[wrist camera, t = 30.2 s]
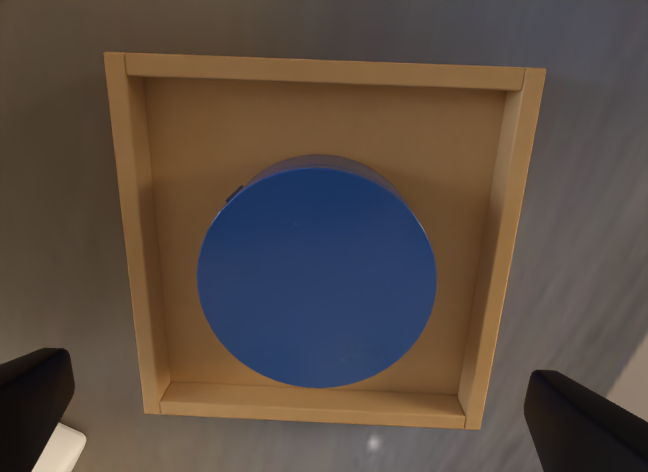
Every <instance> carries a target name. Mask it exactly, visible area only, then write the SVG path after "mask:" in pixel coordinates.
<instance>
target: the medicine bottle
mask: <svg viewBox="0 0 648 472" xmlns="http://www.w3.org/2000/svg"><path fill="white" fill-rule="evenodd" d="M85 444H86V437H85V435H84V434H83V433H81V432H79V431H77V430H74V429H72V428H70V427H68V426H66V425H63V424H61V423H58V425H57V426H56V428H55V430H54V432H53V434H52V436H51V437H50V439H49V441H48V443H47V445H46V447H45V449H44V450H43V452H42V454H41V456H40V458H39V460H38V461H37V463H36V465H35V466H34V468H33V470H32V472H71V471H72V469H73V467H74V465H75V463H76V462H77V460H78V458H79V456H80V454H81V452H82V450H83V448H84V446H85Z"/></svg>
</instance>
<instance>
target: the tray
mask: <svg viewBox="0 0 648 472" xmlns="http://www.w3.org/2000/svg"><path fill="white" fill-rule="evenodd" d="M103 56H104V64H105V73H106V82H107V90H108V99H109V108H110V117H111V125H112V134H113V143H114V151H115V160H116V169H117V177H118V186H119V195H120V203H121V212H122V221H123V230H124V238H125V247H126V256H127V264H128V273H129V282H130V290H131V299H132V308H133V317H134V325H135V334H136V343H137V351H138V360H139V369H140V377H141V386H142V395H143V404H144V412H145V414H157V415H159V414H162V415H179V416H199V417H220V418H240V419H261V420H281V421H302V422H322V423H343V424H364V425H384V426H405V427H425V428H446V429H463V428H464V429H466V430H480V427H481V422H482V417H483V411H484V406H485V400H486V395H487V390H488V384H489V379H490V373H491V368H492V363H493V357H494V352H495V347H496V341H497V336H498V330H499V325H500V320H501V314H502V309H503V303H504V298H505V293H506V287H507V282H508V276H509V271H510V266H511V260H512V255H513V250H514V244H515V239H516V233H517V228H518V223H519V217H520V212H521V206H522V201H523V196H524V190H525V185H526V179H527V174H528V169H529V163H530V158H531V153H532V147H533V142H534V136H535V131H536V126H537V120H538V115H539V109H540V104H541V99H542V93H543V88H544V82H545V77H546V72H547V70H546V69H545V68H529V67H527V68H523V67H503V66H476V65H449V64H422V63H396V62H369V61H342V60H315V59H288V58H261V57H234V56H207V55H181V54H154V53H123V52H104V54H103ZM312 154H325V155H335V156H340V157H345V158H348V159H351V160H355V161H358V162H360V163H362V164H364V165H366V166H368V167H370V168H372V169H373V170H375V171H377V172H378V173H380V174H381V175H383V176H384V177H385V178H386V179H387V180H388V181H389V182H391V183H392V184H393V185H394V186H395V188H396V189H397V190H398V191H399V192H400V193H401V195H402V196H403V198H404V199H405V201H406V202H407V204H408V205H409V207H410V208H411V210H412V211H413V213H414V214H415V216H416V217H417V219H418V220H419V222H420V224H421V225H422V227H423V228H424V230H425V232H426V234H427V237H428V239H429V241H430V243H431V247H432V250H433V253H434V256H435V262H436V269H437V289H436V297H435V302H434V306H433V309H432V313H431V315H430V318H429V320H428V322H427V324H426V327H425V328H424V330H423V332H422V333H421V335H420V337H419V338H418V340H417V341H416V342H415V343H414V345H413V346H412V347H411V348H410V349H409V351H408V352H406V353H405V354H404V355H403V356H402V357H401V358H400V359H399V360H398V361H397V362H395V363H394V364H392V365H391V366H390V367H388V368H387V369H385V370H383V371H382V372H380V373H378V374H376V375H375V376H372V377H370V378H367V379H365V380H363V381H360V382H356V383H353V384H349V385H344V386H338V387H330V388H307V387H299V386H293V385H289V384H285V383H282V382H278V381H275V380H273V379H270V378H268V377H265V376H263V375H261V374H259V373H257V372H256V371H254V370H252V369H250V368H249V367H247V366H246V365H244V364H243V363H242V362H240V361H239V360H238V359H237V358H236V357H234V356H233V355H232V354H231V353H230V352H229V351H228V350H227V349H226V348H225V347H224V346H223V344H222V343H221V342H220V341H219V340H218V338H217V337H216V335H215V334H214V332H213V331H212V329H211V327H210V325H209V323H208V321H207V319H206V317H205V315H204V312H203V309H202V306H201V303H200V299H199V294H198V289H197V264H198V257H199V253H200V248H201V245H202V242H203V240H204V237H205V235H206V232H207V230H208V228H209V227H210V225H211V223H212V221H213V220H214V218H215V217H216V215H217V214H218V213H219V212H220V210H221V209H222V208H223V207H224V205H225V204H226V203H227V202H226V201H225V200H226V199H227V198H228V197H229V196H230V195H231V194H232V193H233V192H235V191H236V190H237V189H238V188H239V187H240V186H241V185H243V186H244V185H246V184H247V183H248V182H249V181H250V180H251V179H252V178H253V177H254V176H256V175H257V174H258V173H260V172H261V171H263V170H264V169H266V168H268V167H270V166H271V165H273V164H275V163H278V162H280V161H283V160H286V159H289V158H293V157H297V156H302V155H312Z"/></svg>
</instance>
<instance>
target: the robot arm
mask: <svg viewBox="0 0 648 472" xmlns="http://www.w3.org/2000/svg"><path fill="white" fill-rule="evenodd" d="M74 389H75V382H74V376H73V370H72V365H71V359H70V354H69V352H68V351H67V350H66V349H63V348H42V349H39V350H37V351H34V352H32V353H29V354H27V355H24V356H22V357H19V358H16V359H14V360H11V361H9V362H6V363H4V364H1V365H0V472H32V470H33V468H34V466H35V465H36V463H37V461H38V460H39V458H40V456H41V454H42V452H43V450H44V449H45V447H46V445H47V443H48V441H49V439H50V437H51V436H52V434H53V432H54V430H55V428H56V426H57V425H58V423H59V421H60V419H61V417H62V415H63V413H64V412H65V410H66V408H67V406H68V404H69V402H70V401H71V399H72V396H73V394H74ZM524 415H525V419H526V422H527V425H528V428H529V431H530V433H531V436H532V439H533V442H534V445H535V448H536V451H537V453H538V456H539V459H540V462H541V465H542V468H543V471H544V472H648V422H646V421H645V420H643V419H641V418H639V417H637V416H636V415H634V414H632V413H630V412H629V411H627V410H625V409H623V408H621V407H620V406H618V405H616V404H615V403H613V402H611V401H609V400H607V399H606V398H604V397H602V396H600V395H599V394H597V393H595V392H593V391H591V390H590V389H588V388H586V387H584V386H583V385H581V384H579V383H577V382H576V381H574V380H572V379H570V378H568V377H567V376H565V375H563V374H561V373H560V372H558V371H554V370H535V371H533V372H532V374H531V376H530V380H529V384H528V389H527V394H526V398H525V403H524Z"/></svg>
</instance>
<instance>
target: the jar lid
mask: <svg viewBox="0 0 648 472" xmlns="http://www.w3.org/2000/svg"><path fill="white" fill-rule="evenodd" d="M225 201H226V202H227V203H226V204H225V205H224V207H223V208H222V209H221V210H220V212H219V213H218V214H217V215H216V217H215V218H214V220H213V221H212V223H211V225H210V227H209V228H208V230H207V232H206V235H205V237H204V240H203V242H202V245H201V248H200V253H199V257H198V264H197V289H198V294H199V299H200V303H201V306H202V309H203V312H204V315H205V317H206V319H207V321H208V323H209V325H210V327H211V329H212V331H213V332H214V334H215V335H216V337H217V338H218V340H219V341H220V342H221V343H222V344H223V346H224V347H225V348H226V349H227V350H228V351H229V352H230V353H231V354H232V355H233V356H234V357H236V358H237V359H238V360H239V361H240V362H242V363H243V364H244V365H246V366H247V367H249V368H250V369H252V370H254V371H256V372H257V373H259V374H261V375H263V376H265V377H268V378H270V379H273V380H275V381H278V382H282V383H285V384H289V385H293V386H299V387H307V388H330V387H338V386H344V385H349V384H353V383H356V382H360V381H363V380H365V379H367V378H370V377H372V376H375V375H376V374H378V373H380V372H382V371H383V370H385V369H387V368H388V367H390V366H391V365H392V364H394V363H395V362H397V361H398V360H399V359H400V358H401V357H402V356H403V355H404V354H405V353H406V352H408V351H409V349H410V348H411V347H412V346H413V345H414V343H415V342H416V341H417V340H418V338H419V337H420V335H421V333H422V332H423V330H424V328H425V327H426V324H427V322H428V320H429V318H430V315H431V313H432V309H433V306H434V302H435V297H436V289H437V269H436V262H435V256H434V253H433V250H432V247H431V243H430V241H429V239H428V237H427V234H426V232H425V230H424V228H423V227H422V225H421V224H420V222H419V220H418V219H417V217H416V216H415V214H414V213H413V211H412V210H411V208H410V207H409V205H408V204H407V202H406V201H405V199H404V198H403V196H402V195H401V193H400V192H399V191H398V190H397V189H396V188H395V186H394V185H393V184H392V183H391V182H389V181H388V180H387V179H386V178H385V177H384V176H383V175H381V174H380V173H378V172H377V171H375V170H373V169H372V168H370V167H368V166H366V165H364V164H362V163H360V162H358V161H355V160H351V159H348V158H345V157H340V156H335V155H325V154H312V155H302V156H297V157H293V158H289V159H286V160H283V161H280V162H278V163H275V164H273V165H271V166H270V167H268V168H266V169H264V170H263V171H261V172H260V173H258V174H257V175H256V176H254V177H253V178H252V179H251V180H250V181H249V182H248V183H247V184H246V185H244V186H243V185H241V186H240V187H239V188H238V189H237V190H236V191H235V192H233V193H232V194H231V195H230V196H229V197H228V198H227V199H226V200H225Z"/></svg>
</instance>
